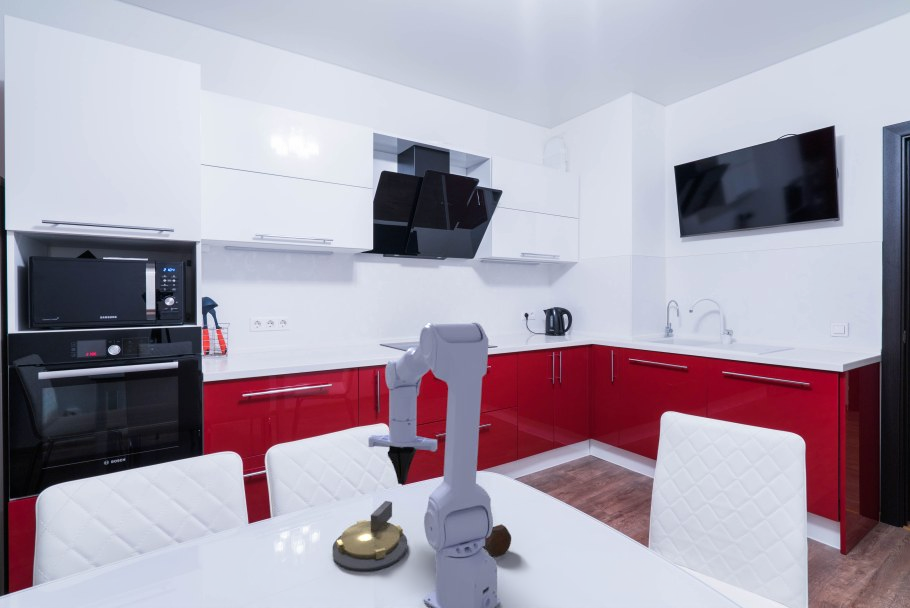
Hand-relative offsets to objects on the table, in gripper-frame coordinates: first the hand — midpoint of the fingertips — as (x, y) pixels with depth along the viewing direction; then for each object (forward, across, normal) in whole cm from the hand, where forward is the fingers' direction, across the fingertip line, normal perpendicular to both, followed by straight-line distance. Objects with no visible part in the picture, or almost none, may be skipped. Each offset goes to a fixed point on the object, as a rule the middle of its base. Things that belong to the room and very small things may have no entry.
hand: (402, 482), depth 94 cm
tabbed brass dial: (+8, +3, +10) cm, 13 cm away
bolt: (+10, -16, +1) cm, 19 cm away
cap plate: (+9, +3, +10) cm, 14 cm away
